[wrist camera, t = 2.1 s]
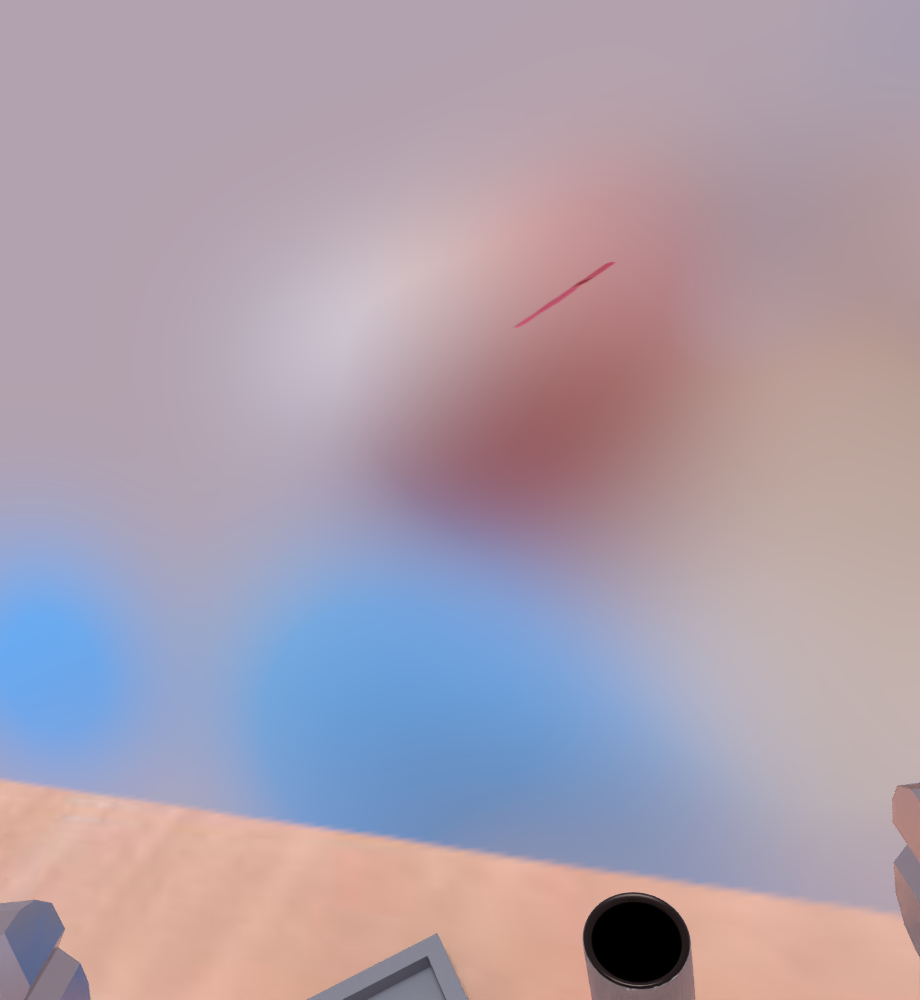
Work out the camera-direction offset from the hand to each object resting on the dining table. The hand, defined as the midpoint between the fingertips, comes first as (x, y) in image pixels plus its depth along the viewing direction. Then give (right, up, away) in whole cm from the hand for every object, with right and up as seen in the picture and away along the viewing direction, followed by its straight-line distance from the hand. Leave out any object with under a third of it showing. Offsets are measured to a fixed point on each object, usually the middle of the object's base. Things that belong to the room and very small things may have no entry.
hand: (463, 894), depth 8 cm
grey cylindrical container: (+9, -24, +31) cm, 40 cm away
